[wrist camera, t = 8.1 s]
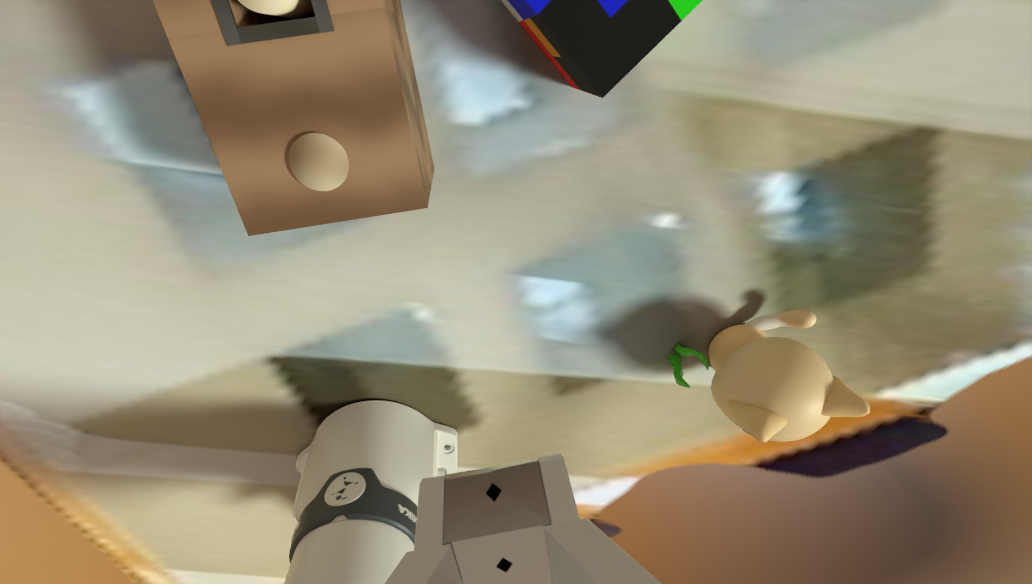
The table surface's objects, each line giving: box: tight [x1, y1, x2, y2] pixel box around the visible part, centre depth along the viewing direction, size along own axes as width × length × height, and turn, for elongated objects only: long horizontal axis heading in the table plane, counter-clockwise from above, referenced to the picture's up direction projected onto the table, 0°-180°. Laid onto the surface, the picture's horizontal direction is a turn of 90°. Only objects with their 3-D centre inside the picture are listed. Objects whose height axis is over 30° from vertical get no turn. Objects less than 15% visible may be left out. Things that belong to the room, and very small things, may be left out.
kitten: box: [669, 310, 870, 442], centre depth 50 cm, size 15×10×15 cm, turn 104°
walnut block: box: [152, 0, 434, 236], centre depth 34 cm, size 18×12×12 cm, turn 7°
